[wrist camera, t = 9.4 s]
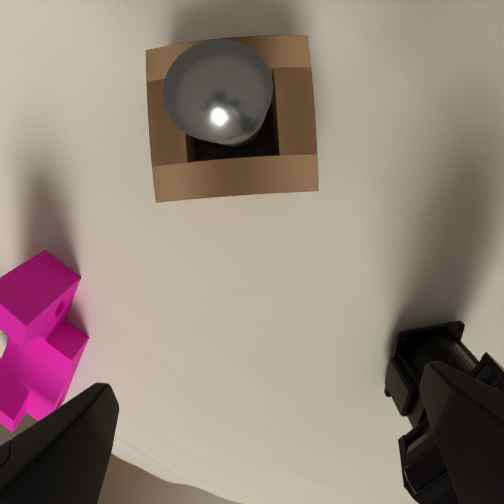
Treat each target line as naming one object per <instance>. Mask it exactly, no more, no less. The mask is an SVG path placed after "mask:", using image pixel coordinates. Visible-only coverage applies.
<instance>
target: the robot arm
mask: <svg viewBox="0 0 504 504" xmlns="http://www.w3.org/2000/svg"><path fill="white" fill-rule="evenodd" d="M464 326H465V325H464V323H463V322H462V321H455V322H450V323H445V324H440V325H435V326H429V327H424V328H418V329H413V330H407V331H402V332H400V333H398V334H397V336H396V339H395V344H394V349H393V354H392V357H391V359H390V361H389V366H388V370H387V375H386V379H385V385H386V386H385V390H384V393H385V395H386V396H387V397H392V399H393V401H394V403H395V405H396V407H397V409H398V411H399V413H400V415H401V416H403V417H404V416H407V417H408V419H409V421H410V423H411V425H412V427H413V429H412V430H411V431H410V432H408V433H407V434H406V435H403V436H402V437H401V438H400V439H398V443H399V450H400V458H401V466H402V475H403V482H404V487H405V488H406V490H407V491H408V492H409V494H410V495H411V496H412V498H413V499H414V500H415V501H416V502H418V503H419V504H504V368H503V367H502V366H501V365H500V364H499V363H497V362H496V361H495V360H494V359H493V358H492V357H491V356H490V355H489V354H488V353H487V352H486V353H485V354H484V355H483V356H482V357H481V360H480V362H479V361H478V360H477V359H476V357H475V356H474V355H473V354H472V353H471V352H470V351H469V350H468V349H467V347H466V346H465V345H464V344H463V343H462V342H461V338H462V334H463V331H464ZM458 327H459V328H458ZM402 337H404V338H403V339H401V338H402ZM118 414H119V404H118V401H117V399H116V397H115V394H114V392H113V390H112V387H111V386H110V385H109V384H107V383H95V384H93V385H92V386H90V387H89V388H87V389H86V390H84V391H83V392H81V393H80V394H79V395H77V396H76V397H74V398H73V399H71V400H70V401H68V402H67V403H65V404H64V405H62V406H61V407H59V408H58V409H56V410H55V411H53V412H52V413H50V414H49V415H47V416H46V417H44V418H42V419H41V420H39V421H38V422H36V423H35V424H33V425H32V426H31V427H29V428H27V429H26V430H24V431H23V432H21V433H20V434H18V435H16V436H15V437H13V438H12V440H9V441H7V442H6V443H4V444H3V445H1V446H0V504H97V503H98V499H99V495H100V491H101V488H102V484H103V480H104V477H105V473H106V470H107V466H108V463H109V459H110V455H111V451H112V446H113V441H114V435H115V430H116V424H117V419H118Z"/></svg>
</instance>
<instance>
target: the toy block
mask: <svg viewBox="0 0 504 504" xmlns="http://www.w3.org/2000/svg"><path fill="white" fill-rule="evenodd" d="M80 279H81V277H80V276H78V275H77V274H76V273H74V272H73V271H72V270H70V269H69V268H67V267H66V266H65V265H64V264H62V263H61V262H60V261H58V260H57V259H56V258H54V257H53V256H52V255H51V254H49V253H48V252H47V251H43V252H41V253H39V254H38V255H36V256H34V257H33V258H31V259H29V260H28V261H26V262H24V263H23V264H21V265H20V266H18V267H16V268H15V269H13V270H12V271H10V272H8V273H7V274H5V275H4V276H2V277H1V278H0V329H1V330H2V331H3V332H4V333H5V334H6V335H8V336H9V339H8V342H7V345H6V348H5V351H4V353H3V356H2V358H1V360H0V423H1V424H2V425H3V426H5V427H6V428H7V429H8V430H10V431H11V432H13V431H14V430H15V428H16V427H17V425H18V424H19V422H20V421H21V419H22V418H23V416H24V415H25V413H28V414H29V415H30V416H32V417H33V418H35V419H36V420H37V421H39V420H41V419H42V418H44V417H46V416H47V415H49V414H50V413H52V412H53V411H55V410H56V409H58V408H59V407H60V406H61V405H62V403H63V402H64V400H65V397H66V394H67V392H68V389H69V386H70V384H71V381H72V378H73V376H74V373H75V371H76V368H77V366H78V363H79V361H80V358H81V356H82V353H83V351H84V348H85V346H86V344H87V341H88V339H89V337H88V336H87V335H85V334H84V333H82V332H81V331H79V330H78V329H77V328H75V327H74V326H72V325H71V324H70V323H68V322H67V321H66V320H65V319H66V316H67V313H68V310H69V308H70V305H71V302H72V300H73V297H74V294H75V292H76V289H77V287H78V284H79V282H80Z"/></svg>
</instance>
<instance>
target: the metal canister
mask: <svg viewBox="0 0 504 504" xmlns="http://www.w3.org/2000/svg"><path fill="white" fill-rule="evenodd" d="M272 94H273V81H272V76H271V73H270V70H269V68H268V66H267V64H266V63H265V61H264V60H263V58H262V57H261V56H260V55H259V54H258V53H257V52H256V51H254V50H253V49H252V48H250V47H249V46H247V45H244V44H242V43H240V42H237V41H232V40H226V39H215V40H208V41H204V42H201V43H198V44H196V45H194V46H192V47H190V48H188V49H187V50H186V51H184V52H183V53H182V54H181V55H179V56H178V57H177V58H176V60H175V61H174V62H173V63H172V65H171V66H170V68H169V70H168V72H167V74H166V77H165V80H164V85H163V102H164V105H165V109H166V111H167V113H168V115H169V117H170V119H171V120H172V121H173V123H174V124H175V125H176V126H177V127H178V128H179V129H180V130H182V131H183V132H185V133H186V134H188V135H190V136H192V137H195V138H197V139H201V140H206V141H210V142H214V143H218V144H223V145H227V146H232V147H238V146H243V145H246V144H248V143H250V142H251V141H252V140H254V139H255V138H256V136H257V135H258V133H259V132H260V129H261V127H262V124H263V122H264V119H265V116H266V114H267V111H268V108H269V106H270V103H271V99H272Z"/></svg>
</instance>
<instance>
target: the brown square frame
mask: <svg viewBox="0 0 504 504" xmlns="http://www.w3.org/2000/svg"><path fill="white" fill-rule="evenodd" d="M221 39H226V40H232V41H237V42H240V43H242V44H244V45H247V46H249V47H250V48H252V49H253V50H254V51H256V52H257V53H258V54H259V55H260V56H261V57H262V58H263V60H264V61H265V63H266V64H267V66H268V68H269V70H270V73H271V76H272V81H273V94H272V99H271V116H272V131H273V146H274V155H260V156H244V157H231V158H219V159H208V160H201V158H200V146H199V139H197V138H195V137H192V136H190V135H188V134H186V133H185V132H183V131H182V130H180V129H179V128H178V127H177V126H176V125H175V124H174V123H173V121H172V120H171V119H170V117H169V115H168V113H167V111H166V109H165V105H164V102H163V85H164V80H165V77H166V74H167V72H168V70H169V68H170V66H171V65H172V63H173V62H174V61H175V60H176V58H177V57H178V56H179V55H181V54H182V53H183V52H184V51H186V50H187V49H188V48H190V47H192V46H194V45H196V44H198V43H201V42H204V41H208V40H204V41H196V42H189V43H182V44H176V45H171V46H165V47H160V48H155V49H150V50H146V79H147V104H148V121H149V136H150V148H151V160H152V170H153V180H154V189H155V198H156V203H157V202H167V201H177V200H188V199H199V198H211V197H223V196H237V195H252V194H268V193H287V192H309V191H319V187H318V161H317V141H316V124H315V109H314V96H313V84H312V73H311V63H310V53H309V44H308V35H268V36H246V37H232V38H221ZM212 40H215V39H212Z"/></svg>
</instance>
